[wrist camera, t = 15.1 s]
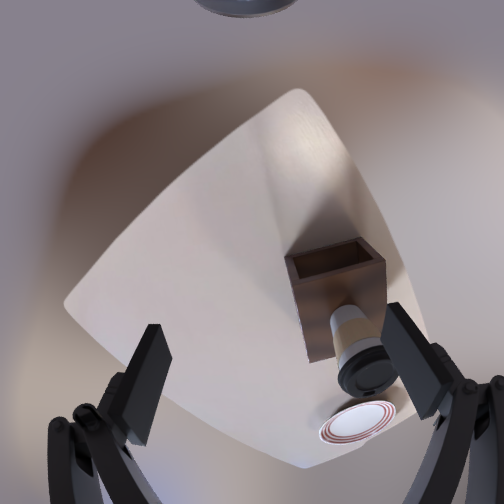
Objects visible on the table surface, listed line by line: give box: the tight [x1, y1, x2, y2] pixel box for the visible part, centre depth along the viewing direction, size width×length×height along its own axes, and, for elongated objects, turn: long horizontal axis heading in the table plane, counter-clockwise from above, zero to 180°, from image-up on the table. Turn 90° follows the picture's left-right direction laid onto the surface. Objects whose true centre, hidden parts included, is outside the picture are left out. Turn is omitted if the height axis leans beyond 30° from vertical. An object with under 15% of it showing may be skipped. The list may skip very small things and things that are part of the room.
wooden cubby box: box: [284, 237, 387, 363], centre depth 50 cm, size 18×16×12 cm
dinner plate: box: [319, 400, 396, 445], centre depth 74 cm, size 27×27×3 cm
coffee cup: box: [330, 305, 399, 398], centre depth 38 cm, size 9×9×15 cm
